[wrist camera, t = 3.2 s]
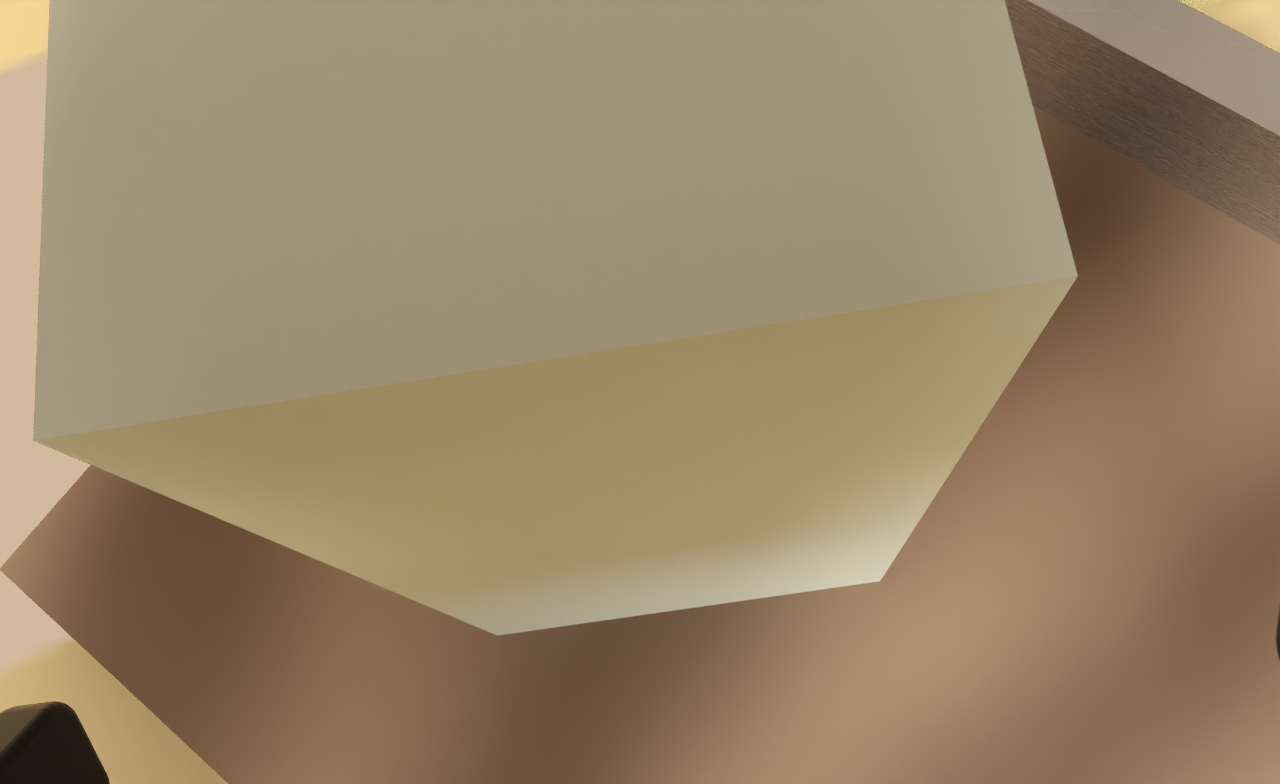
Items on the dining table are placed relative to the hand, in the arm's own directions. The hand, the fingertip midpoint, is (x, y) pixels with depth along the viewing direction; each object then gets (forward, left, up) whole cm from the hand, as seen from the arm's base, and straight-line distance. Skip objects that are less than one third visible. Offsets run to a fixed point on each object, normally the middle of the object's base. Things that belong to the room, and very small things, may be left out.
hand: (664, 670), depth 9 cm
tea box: (+3, -2, -9) cm, 10 cm away
